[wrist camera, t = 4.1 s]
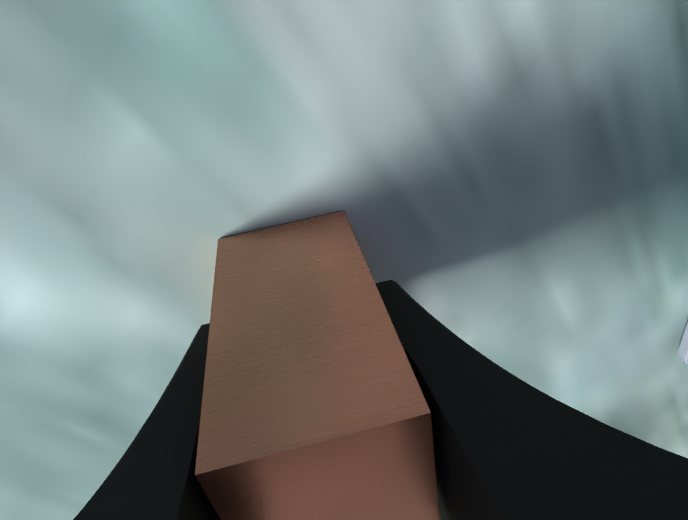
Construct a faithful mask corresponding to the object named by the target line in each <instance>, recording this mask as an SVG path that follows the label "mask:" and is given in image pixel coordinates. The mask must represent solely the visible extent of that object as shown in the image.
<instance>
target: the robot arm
mask: <svg viewBox="0 0 688 520" xmlns="http://www.w3.org/2000/svg"><path fill="white" fill-rule="evenodd" d="M376 286H377V289H378V291H379V293H380V296H381V298H382V300H383V303H384V305H385V307H386V310H387V312H388V314H389V317H390V319H391V321H392V324H393V326H394V328H395V331H396V333H397V335H398V338H399V340H400V342H401V345H402V347H403V349H404V352H405V354H406V356H407V359H408V361H409V363H410V366H411V368H412V370H413V372H414V375H415V377H416V379H417V382H418V384H419V386H420V389H421V391H422V393H423V396H424V398H425V400H426V403H427V405H428V407H429V410H430V412H431V421H432V434H433V447H434V459H435V472H436V484H437V497H438V510H439V514H440V517H441V520H688V458H685V457H682V456H680V455H677V454H674V453H672V452H669V451H666V450H664V449H661V448H659V447H657V446H654V445H652V444H650V443H647V442H645V441H643V440H640V439H638V438H636V437H633V436H631V435H629V434H626V433H624V432H622V431H619V430H617V429H615V428H613V427H610V426H608V425H606V424H604V423H602V422H600V421H598V420H596V419H594V418H592V417H590V416H588V415H586V414H584V413H582V412H580V411H578V410H576V409H574V408H572V407H570V406H568V405H566V404H564V403H562V402H560V401H558V400H556V399H554V398H552V397H550V396H548V395H547V394H545V393H543V392H541V391H539V390H538V389H536V388H534V387H532V386H531V385H529V384H527V383H526V382H524V381H522V380H521V379H519V378H517V377H516V376H514V375H512V374H511V373H509V372H508V371H506V370H505V369H503V368H501V367H500V366H498V365H497V364H495V363H494V362H492V361H491V360H489V359H488V358H486V357H485V356H484V355H482V354H481V353H479V352H478V351H477V350H475V349H474V348H472V347H471V346H470V345H468V344H467V343H466V342H464V341H463V340H462V339H460V338H459V337H458V336H456V335H455V334H454V333H453V332H451V331H450V330H449V329H448V328H446V327H445V326H444V325H443V324H441V323H440V322H439V321H438V320H437V319H435V318H434V317H433V316H432V315H431V314H429V313H428V312H427V311H426V310H425V309H424V308H423V307H422V306H420V305H419V304H418V303H417V302H416V301H415V300H414V299H413V298H412V297H411V296H410V295H409V294H407V293H406V292H405V291H404V290H403V289H402V288H401V287H400V286H399V285H398V284H397V283H396V282H395V281H393V280H388V281H384V282H380V283H376ZM209 327H210V323H209V324H205V325H202V326H201V327H200V329H199V330H198V332H197V334H196V336H195V337H194V339H193V341H192V343H191V345H190V347H189V349H188V350H187V352H186V354H185V356H184V358H183V360H182V361H181V363H180V365H179V367H178V369H177V370H176V372H175V374H174V376H173V378H172V379H171V381H170V383H169V384H168V386H167V388H166V389H165V391H164V393H163V395H162V396H161V398H160V400H159V401H158V403H157V405H156V406H155V408H154V410H153V411H152V413H151V414H150V416H149V417H148V419H147V420H146V422H145V423H144V425H143V427H142V428H141V430H140V431H139V433H138V434H137V436H136V437H135V439H134V440H133V442H132V443H131V445H130V446H129V448H128V449H127V451H126V452H125V454H124V455H123V456H122V458H121V459H120V461H119V462H118V463H117V465H116V466H115V468H114V469H113V470H112V472H111V473H110V474H109V476H108V477H107V478H106V480H105V481H104V482H103V484H102V485H101V486H100V487H99V489H98V490H97V491H96V493H95V494H94V495H93V497H92V498H91V499H90V500H89V502H88V503H87V504H86V505H85V506H84V508H83V509H82V510H81V511H80V512H79V514H78V515H77V516H76V517H75V518H74V519H73V520H221V519H220V517H219V516H218V514H217V512H216V511H215V509H214V507H213V505H212V504H211V502H210V500H209V499H208V497H207V495H206V493H205V492H204V490H203V488H202V487H201V485H200V483H199V482H198V480H197V478H196V476H195V468H196V458H197V448H198V438H199V427H200V417H201V407H202V397H203V387H204V377H205V367H206V357H207V347H208V337H209ZM677 356H678V357H679V358H680V359H681V360H682V361H683V362H684V363H685V364H687V365H688V322H687V325H686V328H685V331H684V334H683V337H682V340H681V343H680V346H679V349H678V354H677Z"/></svg>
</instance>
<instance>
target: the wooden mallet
mask: <svg viewBox="0 0 688 520" xmlns="http://www.w3.org/2000/svg"><path fill="white" fill-rule="evenodd" d="M195 476H196V478H197V480H198V482H199V483H200V485H201V487H202V488H203V490H204V492H205V493H206V495H207V497H208V499H209V500H210V502H211V504H212V505H213V507H214V509H215V511H216V512H217V514H218V516H219V517H220V519H221V520H439V510H438V497H437V484H436V472H435V459H434V447H433V434H432V421H431V412H430V410H429V407H428V405H427V403H426V400H425V398H424V396H423V393H422V391H421V389H420V386H419V384H418V382H417V379H416V377H415V375H414V372H413V370H412V368H411V366H410V363H409V361H408V359H407V356H406V354H405V352H404V349H403V347H402V345H401V342H400V340H399V338H398V335H397V333H396V331H395V328H394V326H393V324H392V321H391V319H390V317H389V314H388V312H387V310H386V307H385V305H384V303H383V300H382V298H381V296H380V293H379V291H378V289H377V286H376V284H375V282H374V279H373V277H372V275H371V272H370V270H369V268H368V266H367V263H366V261H365V259H364V256H363V254H362V252H361V249H360V247H359V245H358V242H357V240H356V238H355V235H354V233H353V231H352V228H351V226H350V224H349V221H348V219H347V217H346V214H345V212H344V211H339V212H335V213H331V214H326V215H322V216H317V217H313V218H309V219H304V220H300V221H295V222H291V223H287V224H282V225H278V226H274V227H269V228H265V229H260V230H256V231H252V232H247V233H243V234H238V235H234V236H230V237H225V238H221V239H218V246H217V256H216V266H215V276H214V286H213V296H212V306H211V316H210V327H209V337H208V347H207V357H206V367H205V377H204V387H203V397H202V407H201V417H200V427H199V438H198V448H197V458H196V468H195Z"/></svg>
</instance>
